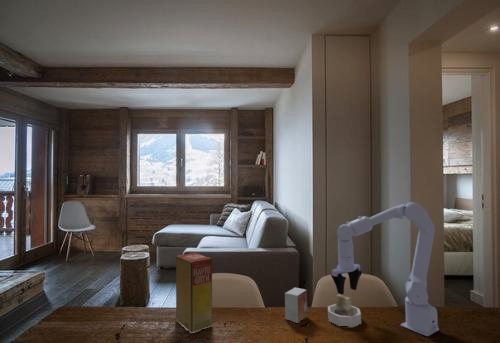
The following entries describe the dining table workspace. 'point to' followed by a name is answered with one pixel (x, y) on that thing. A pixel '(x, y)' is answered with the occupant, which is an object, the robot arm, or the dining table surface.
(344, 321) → the bowl
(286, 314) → the small box
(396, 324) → the dining table surface
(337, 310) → the clip
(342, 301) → the wood grain plank
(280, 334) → the dining table surface
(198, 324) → the food packaging
